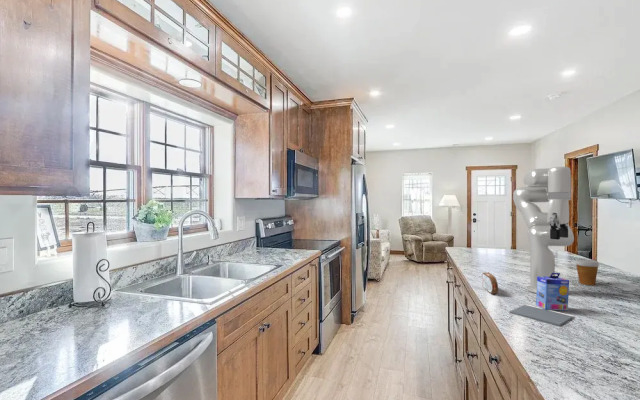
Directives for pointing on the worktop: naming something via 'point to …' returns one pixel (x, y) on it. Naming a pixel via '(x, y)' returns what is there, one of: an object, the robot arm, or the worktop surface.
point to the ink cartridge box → (552, 292)
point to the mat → (542, 315)
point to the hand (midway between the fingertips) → (559, 238)
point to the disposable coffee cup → (587, 271)
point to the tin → (490, 283)
